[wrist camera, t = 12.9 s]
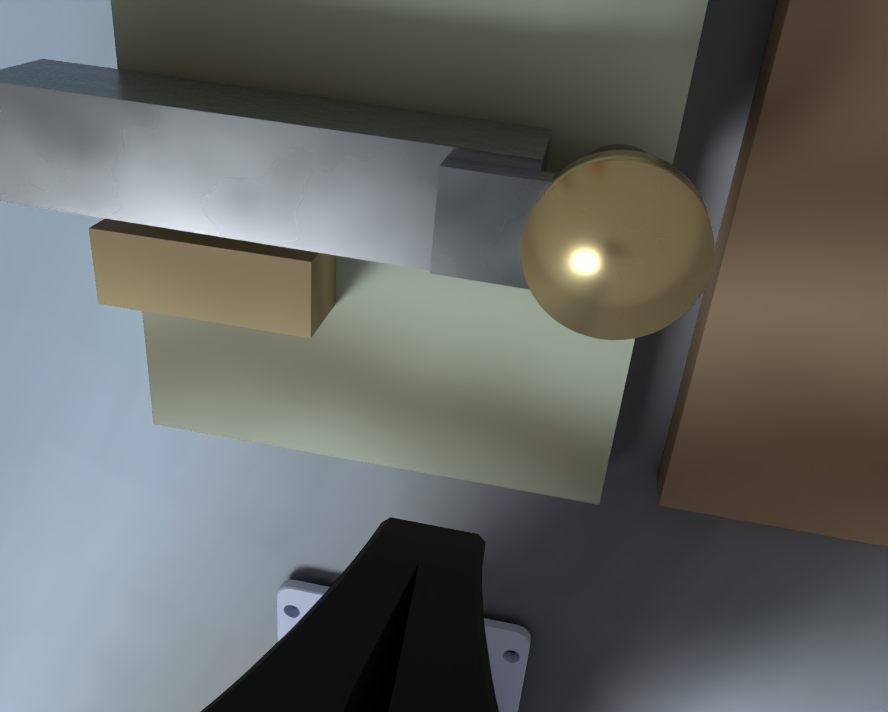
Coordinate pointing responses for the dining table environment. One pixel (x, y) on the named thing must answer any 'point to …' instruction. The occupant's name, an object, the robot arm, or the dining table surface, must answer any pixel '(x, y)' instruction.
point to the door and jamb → (515, 309)
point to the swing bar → (362, 187)
